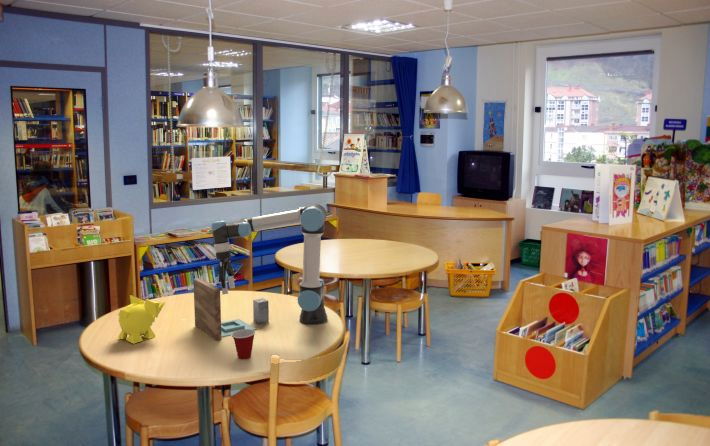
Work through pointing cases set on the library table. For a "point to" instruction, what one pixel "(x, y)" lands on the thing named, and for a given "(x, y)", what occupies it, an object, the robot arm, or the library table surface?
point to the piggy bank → (138, 319)
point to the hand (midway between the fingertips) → (228, 291)
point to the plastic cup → (243, 342)
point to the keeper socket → (234, 327)
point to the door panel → (207, 308)
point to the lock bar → (260, 311)
